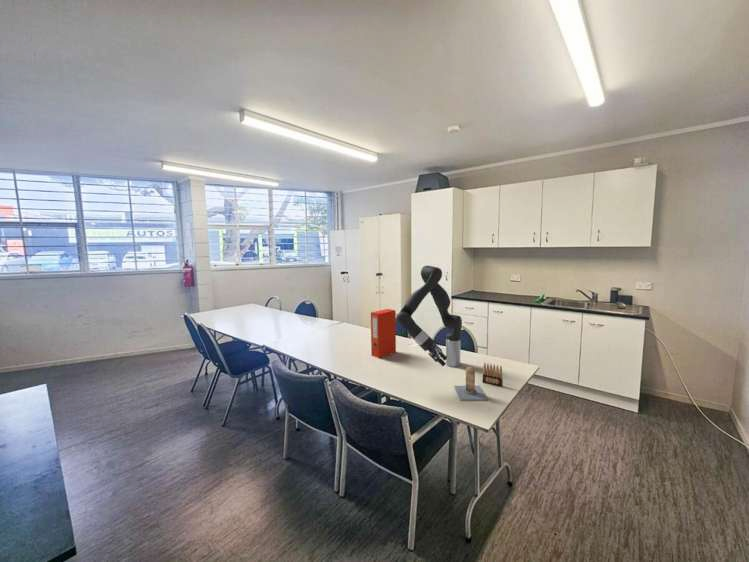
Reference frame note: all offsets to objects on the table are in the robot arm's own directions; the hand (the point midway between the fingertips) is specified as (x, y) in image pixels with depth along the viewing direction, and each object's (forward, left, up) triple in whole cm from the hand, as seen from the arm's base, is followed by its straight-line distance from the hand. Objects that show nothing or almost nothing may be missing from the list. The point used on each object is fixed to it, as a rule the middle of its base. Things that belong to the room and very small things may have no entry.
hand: (445, 362), depth 172 cm
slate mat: (+4, +12, -16) cm, 21 cm away
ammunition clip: (-7, +27, -16) cm, 32 cm away
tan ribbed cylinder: (+4, +12, -15) cm, 20 cm away
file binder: (-58, -35, -16) cm, 69 cm away
